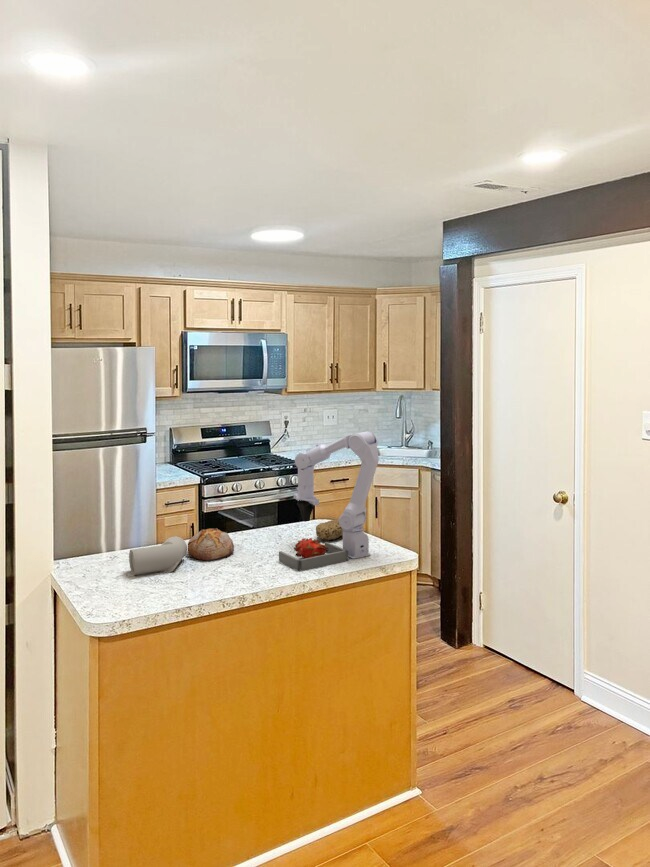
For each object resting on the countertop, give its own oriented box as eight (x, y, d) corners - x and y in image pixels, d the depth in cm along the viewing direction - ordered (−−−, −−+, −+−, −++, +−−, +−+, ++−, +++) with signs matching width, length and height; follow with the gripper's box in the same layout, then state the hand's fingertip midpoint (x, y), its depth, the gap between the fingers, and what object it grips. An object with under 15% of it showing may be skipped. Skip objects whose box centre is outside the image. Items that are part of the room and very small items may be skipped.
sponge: (348, 532, 283) (304, 528, 273) (353, 514, 282) (309, 510, 272) (364, 546, 272) (319, 543, 262) (369, 527, 271) (324, 523, 261)
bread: (187, 566, 241) (184, 538, 240) (189, 549, 260) (186, 523, 259) (235, 560, 243) (232, 532, 242) (233, 544, 263) (231, 518, 261)
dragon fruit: (291, 563, 244) (325, 568, 244) (292, 555, 237) (327, 560, 237) (295, 540, 248) (329, 545, 248) (296, 532, 241) (330, 537, 241)
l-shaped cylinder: (180, 574, 225) (193, 556, 245) (171, 543, 224) (186, 527, 244) (127, 586, 226) (144, 566, 246) (118, 555, 225) (137, 538, 245)
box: (348, 560, 242) (348, 550, 242) (298, 571, 231) (298, 560, 231) (326, 551, 253) (326, 542, 252) (278, 561, 242) (278, 551, 241)
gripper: (286, 482, 261) (286, 518, 263) (307, 489, 249) (307, 526, 251) (302, 480, 265) (302, 515, 267) (323, 486, 253) (324, 523, 255)
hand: (306, 520), depth 259 cm, fingers closed
